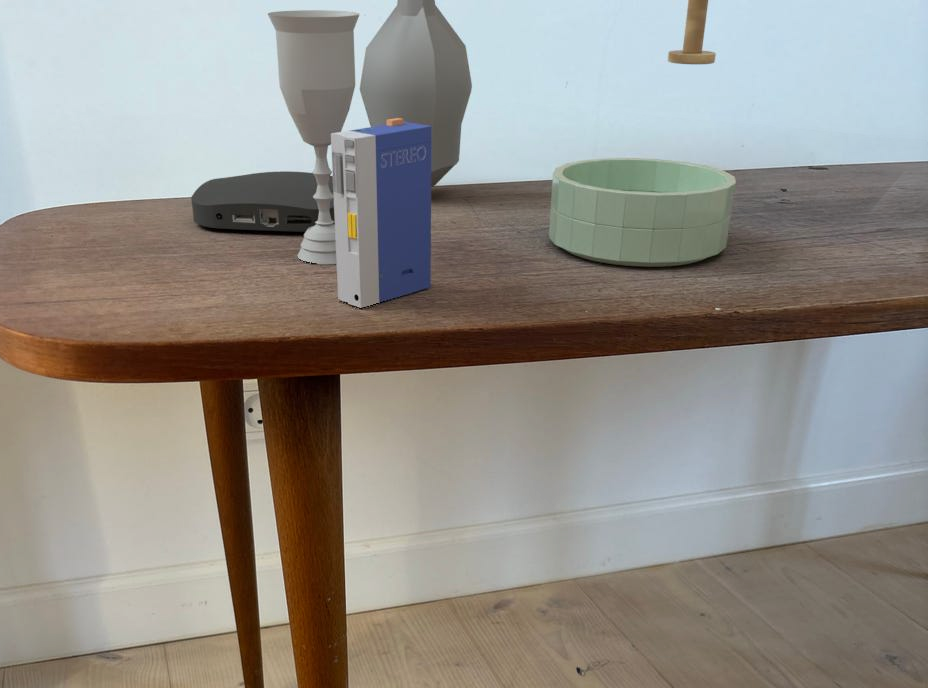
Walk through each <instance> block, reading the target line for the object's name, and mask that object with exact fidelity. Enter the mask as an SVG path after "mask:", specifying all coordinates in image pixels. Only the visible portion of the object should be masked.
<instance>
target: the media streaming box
mask: <svg viewBox="0 0 928 688" xmlns="http://www.w3.org/2000/svg"><path fill="white" fill-rule="evenodd" d="M317 185H318V184H317V181H316V177H315V176H314V174H313V173H312V172H307V171H284V170H283V171H264V172H256V173H255V172H254V173H249V174H242V175H234V176H228V177H218V178H213V179H209V180H207V181H205V182H203V183H202V184H201V185H199V186H198V187H197V188H196V190H195V191H194V192H193V194H192V195H191V197H190V200H191V207H192V216H193V222H194V223H195V224H196V225H199V226H202V227H206V228H211V229H221V230H239V231H240V230H242V231H260V232H261V231H262V232H263V231H265V232H289V233H290V232H292V233H293V232H295V233H305V232H306V231H307V229H308V228H309V227H312V226H315V225H316V224H317V223H315V222H316V221H318V216H319V209H318V205H317V201H316V200H315V199H314V198H313V196H314V194H315V193H316V191H317ZM328 186H329V189H330V192H331V193H332V194H333V175H330V177H329V182H328ZM333 195H334V194H333ZM329 212H330V216H331V220H332V221H334V223H333V224H334V225H335V217H334V197H333V199H332V200H331V203H330V209H329Z"/></svg>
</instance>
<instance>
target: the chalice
mask: <svg viewBox="0 0 928 688" xmlns="http://www.w3.org/2000/svg"><path fill="white" fill-rule="evenodd" d="M267 16H268V18H269V20H270V23H271V24H272V26H273V28H274V30H275V42H276V54H277V55H276V56H277V69H278V82H279V83H278V84H279V88H280V91H281V93H282V97H283V100H284V102H285V105H286V108H287V110H288V113H289V115H290V117H291V120H292V121H293V123H294V126H295V127H296V129H297V131H298V133H299V135H300V137H301V139H302V141H303V142H304V143H306V144H308V145H309V146H312V147H313V148H314V153H315V164H314V169H313V171H312V172H311V173H313V174H314V176H315V177H316V181H317V184H318V185H317V191H316V193H315V194H314V196H313V198H314V199H315V200H316V201H317V205H318V209H319V216H318V221H316V222H315V223H317V224H316V225H315V226H312V227H309V228H308V229H307V231H306V232H304V234H303V239H302V241H301V243H300V247H301V248H300V250H299V252H298V254H297V256H298V258H299V259H301V260H303V261H307V262H310V263H309V264H311V262H312V263H317V264H316V265H337V262H336V239H335V225H334V224H333V223H334V221H332V220H331V216H330V212H329V209H330V203H331V200H332V199H333V197H334V195H333V194H332V193H331V192H330V189H329V186H328V182H329V177H330V176H332V174H333V172H332V169H331V168H330V166H329V161H328V149H329V146H331V133H337V132H342V130H343V128H344V125H345V122H346V120H347V117H348V115H349V113H350V109H351V104H352V100H353V97H354V93H355V88H356V61H355V59H356V58H355V33H354V30H355V28H356V25H357V22H358V20H359V17H360V13H359V12H356V11H349V10H348V11H347V10H327V9H326V10H325V9H322V10H321V9H319V10H318V9H317V10H316V9H313V10H312V9H307V10H306V9H305V10H304V9H303V10H299V9H298V10H282V11H281V10H279V11H272V12H267ZM297 256H296V257H297ZM299 259H298V260H299ZM303 261H302V262H303Z"/></svg>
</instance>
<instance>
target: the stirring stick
mask: <svg viewBox="0 0 928 688" xmlns="http://www.w3.org/2000/svg"><path fill="white" fill-rule="evenodd" d="M708 7H709V0H688V1H687V9H686V17H685V18H686V19H685V27H684V36H683V45H682V49H677V50H670V51H668V53H667V62H668V63H671V64H678V65H711V64H714V63H715V62H716V54H717V53H716V52H714V51H710V50H703V48H704V47H703V45H704V38H705V31H706V23H707V13H708Z"/></svg>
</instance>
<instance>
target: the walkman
mask: <svg viewBox="0 0 928 688" xmlns="http://www.w3.org/2000/svg"><path fill="white" fill-rule="evenodd" d="M330 147H331V168H332V169H331V171H332V176H333V194H334V217H335V239H336V262H337V264H336V281H337V282H336V283H337V284H336V285H337V300H338V299H340V300H342V301H345V302H348V304H351V305H354V306H357V307H360V308H361V307H365V306H369V307H371V306H370V305H373V304H376V303H379V304H381V303H380V302H382V301H385V302H387V301H386V300H388V301H390V300H389V299H391V300H394V299H393V298H395V299H397V297H398V298H401V297H404V296H407V295H410V294H413V292H414V293H416V292H420V291H423V290H426V289H430V288H431V286H432V281H431V280H432V277H431V276H432V268H431V267H432V187H431V126H428V125H422V124H415V123H409V122H403V119H400V118H395V119H388V120H387V122H386V125H381V126H375V127H371V126H370V127H364V128H363V127H362V128H357V129H351V130H344V131H341V132H337V133H331V145H330ZM403 295H404V296H403ZM400 296H401V297H400ZM382 303H383V302H382ZM348 304H347V305H348ZM376 305H377V304H376ZM373 306H374V305H373Z"/></svg>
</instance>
